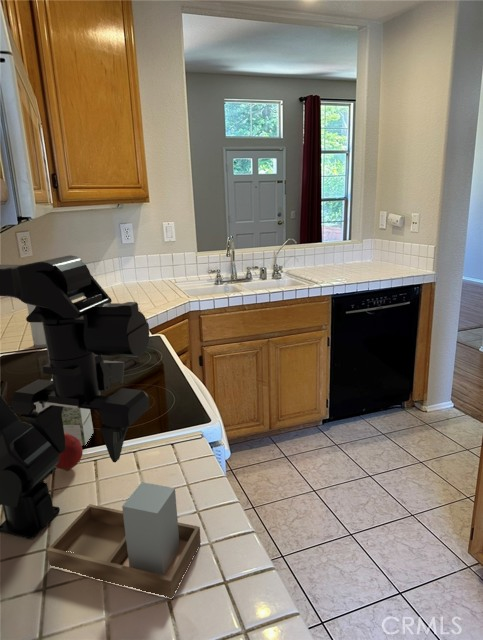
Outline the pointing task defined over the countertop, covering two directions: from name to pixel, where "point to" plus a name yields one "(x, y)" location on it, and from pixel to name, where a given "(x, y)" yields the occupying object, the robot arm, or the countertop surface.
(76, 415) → the syrup box
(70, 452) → the onion
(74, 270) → the robot arm
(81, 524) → the slot holder
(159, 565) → the grey tall block
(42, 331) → the travel mug
